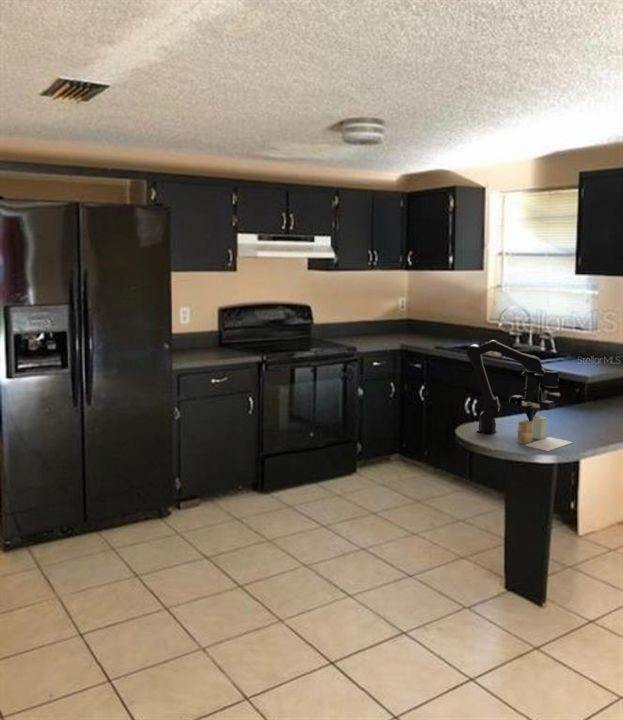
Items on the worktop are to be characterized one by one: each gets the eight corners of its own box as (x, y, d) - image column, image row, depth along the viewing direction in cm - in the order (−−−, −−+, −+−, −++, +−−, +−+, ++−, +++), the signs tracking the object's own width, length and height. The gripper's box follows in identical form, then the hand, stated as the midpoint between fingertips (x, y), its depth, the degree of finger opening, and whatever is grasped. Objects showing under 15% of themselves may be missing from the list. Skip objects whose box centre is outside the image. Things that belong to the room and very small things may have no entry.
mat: (524, 445, 282) (524, 444, 282) (549, 437, 294) (549, 436, 294) (548, 451, 274) (548, 450, 274) (572, 442, 286) (572, 442, 286)
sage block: (531, 437, 294) (533, 417, 292) (537, 436, 296) (538, 415, 295) (540, 439, 291) (541, 418, 289) (545, 438, 293) (546, 417, 292)
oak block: (517, 442, 287) (518, 421, 285) (522, 440, 289) (524, 419, 288) (525, 444, 284) (527, 423, 282) (531, 442, 286) (532, 421, 285)
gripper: (562, 387, 292) (560, 423, 294) (523, 380, 306) (521, 415, 308) (549, 390, 284) (546, 427, 287) (509, 383, 298) (507, 419, 301)
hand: (530, 421), depth 296 cm, fingers closed
